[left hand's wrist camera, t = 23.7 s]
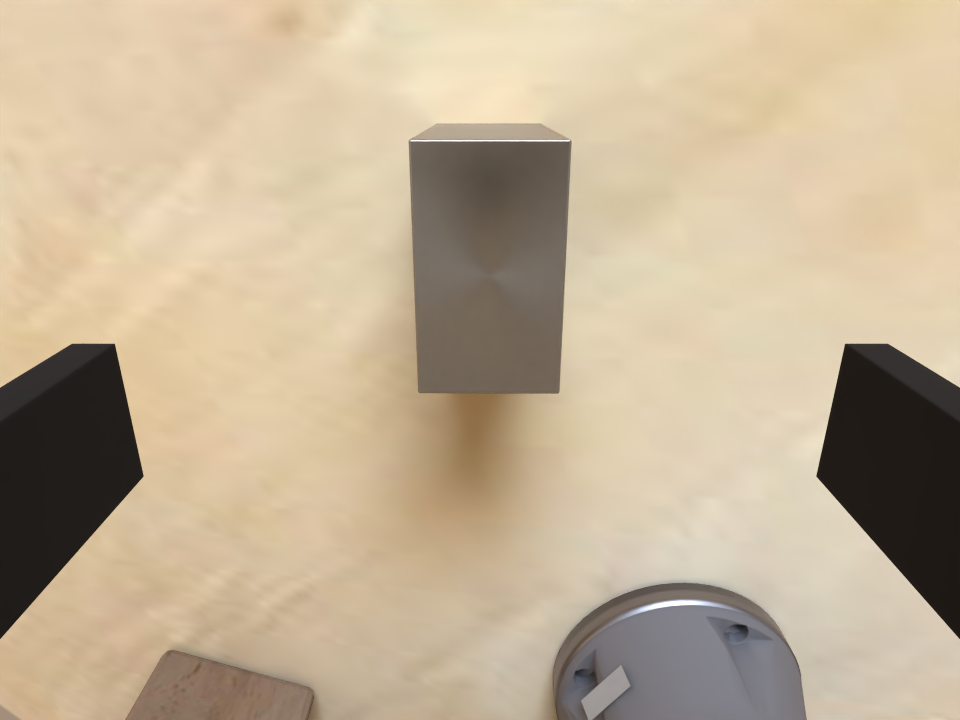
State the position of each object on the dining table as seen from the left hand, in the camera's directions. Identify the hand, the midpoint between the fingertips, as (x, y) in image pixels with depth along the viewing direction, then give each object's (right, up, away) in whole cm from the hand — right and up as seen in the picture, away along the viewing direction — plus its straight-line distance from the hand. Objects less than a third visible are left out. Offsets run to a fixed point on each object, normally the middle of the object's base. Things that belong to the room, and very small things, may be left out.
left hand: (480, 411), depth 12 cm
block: (0, +8, +20) cm, 22 cm away
